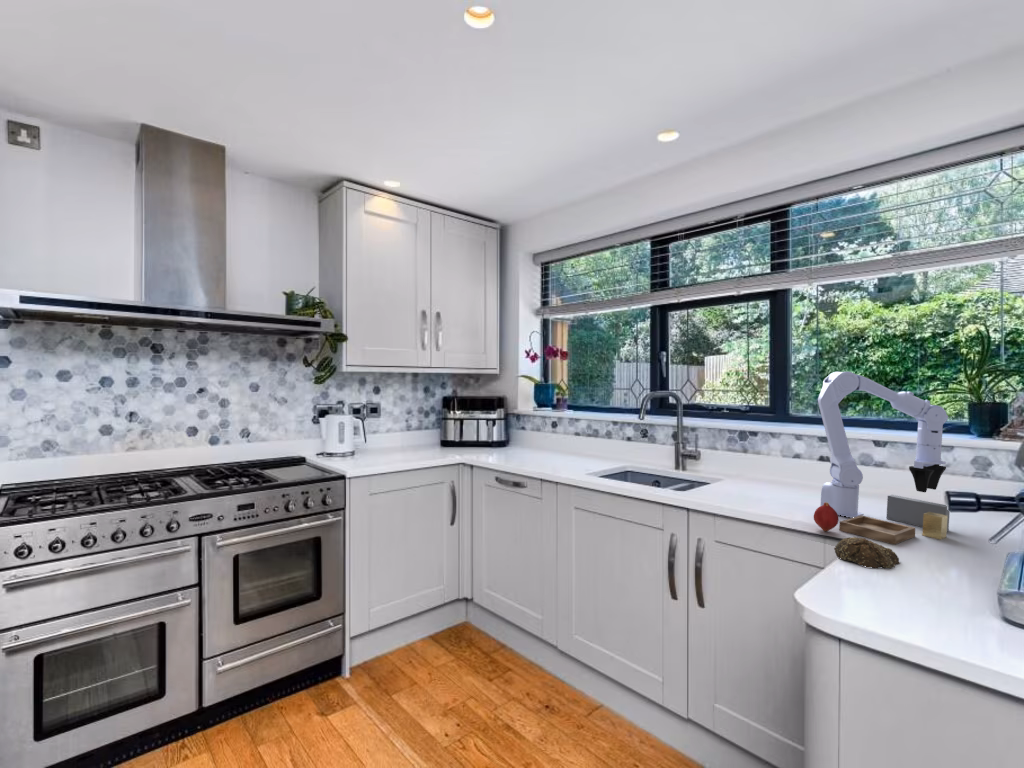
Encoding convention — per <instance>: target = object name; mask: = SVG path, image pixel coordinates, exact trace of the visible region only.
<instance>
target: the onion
mask: <svg viewBox="0 0 1024 768" xmlns="http://www.w3.org/2000/svg"><path fill="white" fill-rule="evenodd" d="M813 520H814V523H816V525H817V526H818V527H819V528H821V531H823V532H828V531H830V530H832V529H834V528H836V526H837V525H838V524H839V521H840V520H839V515H838V514H837V512H836V511H835V510H834V509H833V508H832V507H831V506H830V505H829V504H828V503H827V502H825V503H824V505H822V506H821V505H820V506H819V507H817V508H816V509H815V511H814V513H813Z"/></svg>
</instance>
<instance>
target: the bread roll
mask: <svg viewBox="0 0 1024 768" xmlns="http://www.w3.org/2000/svg"><path fill="white" fill-rule="evenodd" d="M833 549H834V553H835V555H836V557H837V558H838V559H839V560H841V559H842V561H847V562H853V563H855V564H858V565H859V566H860V565H863V566H866V567H872V568H871V569H879V568H878V567H882V568H881V569H885V568H890V569H893V568H892V567H894V568H895V567H896V565H899V564H900V558H899V556H898V555H897V553H896V552H895V551H894V550H893V549H892V548H889V547H885V546H883V545H882V544H878V543H877V542H874V541H872V540H869V539H866V537H864V538H863V537H855V536H853V537H849V536H848V537H844V538H842V539H841V540H839V542H837V543H836V545H835V547H834V548H833ZM840 558H841V559H840ZM863 566H862V567H863ZM866 567H865V568H866Z"/></svg>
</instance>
